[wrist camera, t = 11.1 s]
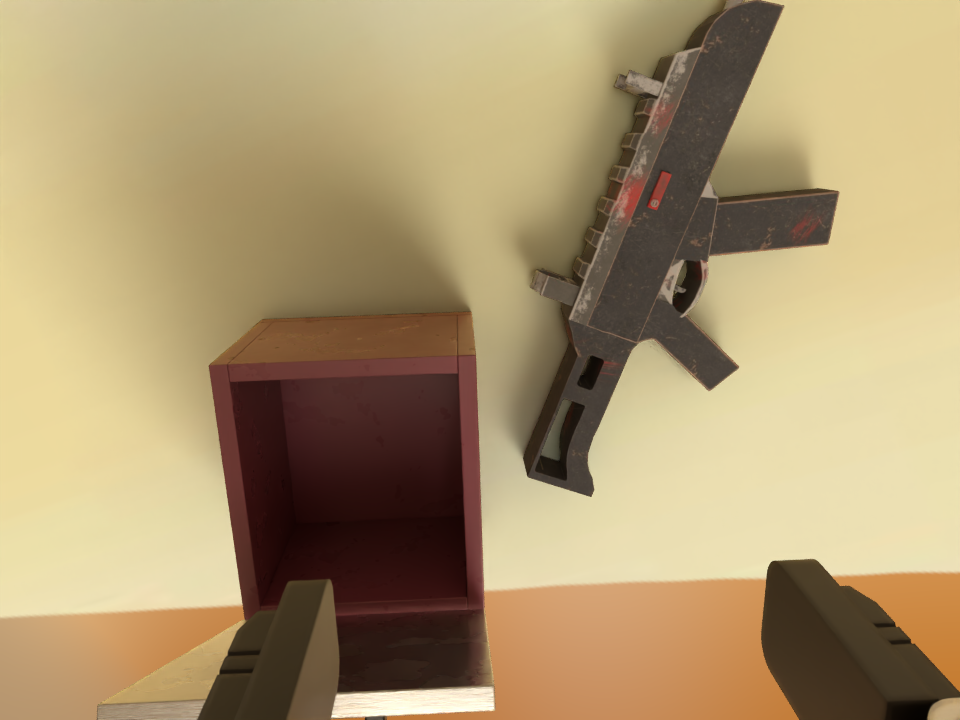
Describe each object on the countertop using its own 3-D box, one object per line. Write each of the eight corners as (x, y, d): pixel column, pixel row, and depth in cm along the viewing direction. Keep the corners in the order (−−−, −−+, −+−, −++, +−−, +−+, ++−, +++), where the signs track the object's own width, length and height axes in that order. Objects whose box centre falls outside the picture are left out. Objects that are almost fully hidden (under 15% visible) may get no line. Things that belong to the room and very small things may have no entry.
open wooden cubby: (262, 319, 44) (208, 365, 34) (471, 311, 44) (475, 354, 35) (286, 529, 48) (244, 622, 38) (479, 520, 48) (484, 611, 39)
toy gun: (675, 504, 49) (466, 438, 47) (906, 26, 40) (664, -81, 38) (692, 530, 45) (468, 460, 43) (947, 16, 37) (684, -101, 35)
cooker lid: (96, 704, 23) (88, 897, 22) (494, 684, 23) (502, 875, 22) (242, 619, 38) (240, 733, 37) (484, 608, 38) (489, 721, 37)
